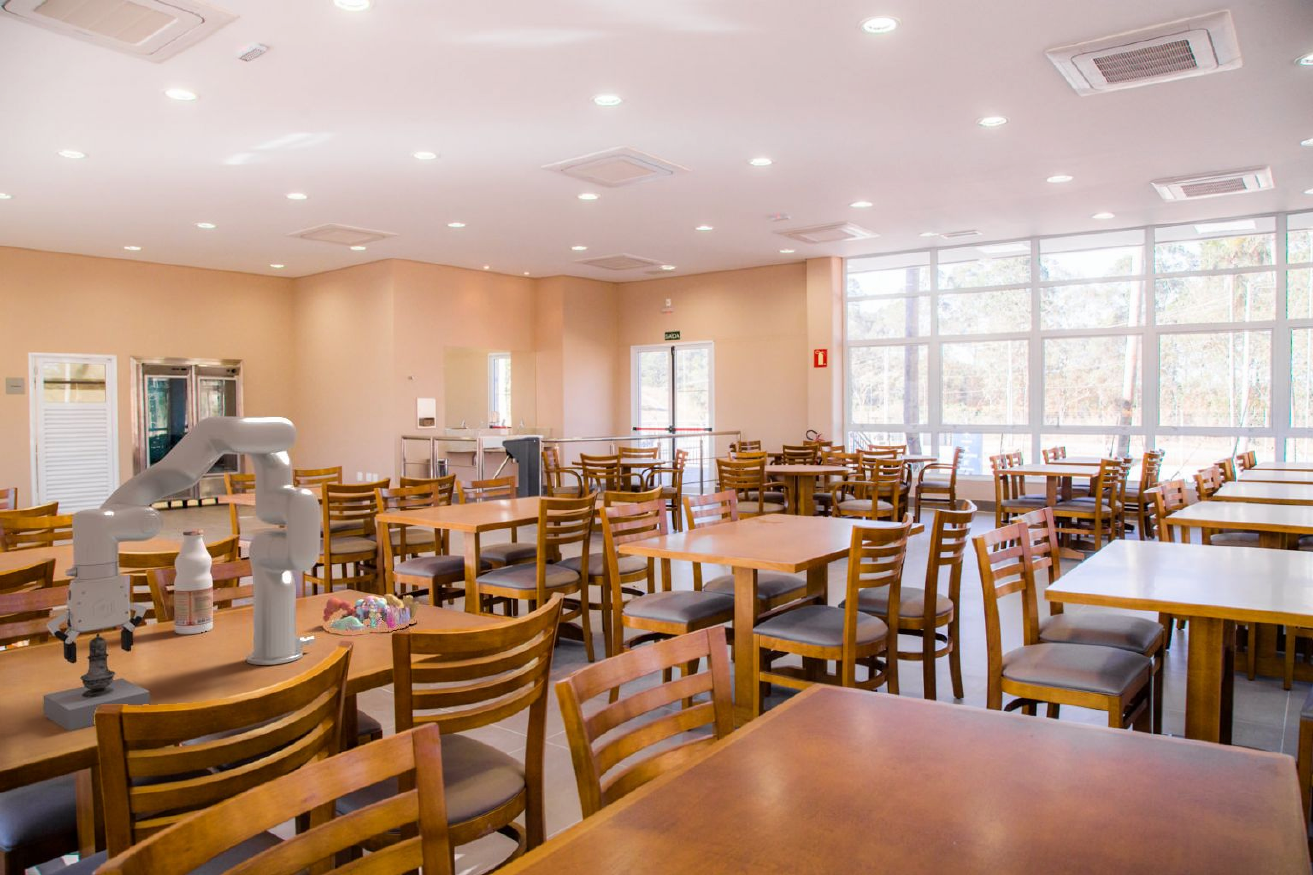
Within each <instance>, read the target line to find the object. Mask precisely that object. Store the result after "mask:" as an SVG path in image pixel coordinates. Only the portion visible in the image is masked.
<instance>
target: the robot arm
mask: <svg viewBox="0 0 1313 875" xmlns="http://www.w3.org/2000/svg"><path fill="white" fill-rule="evenodd" d="M297 438H298V432H297V428H296V426H295V424H294V423H293V422H292V421H291V420H289V419H288V418H286V417H284V416H254V415H253V416H207V417H205V418H201V420H199V421H198V422H197V423H196V424H195V425H193V427H192V428H191V429H190V430H189V431H188V432H187V433H186V434H185V435H184V436H183V437H182V439H180V441H178V442H177V443H176V444H175V446H174V447H173V448H172V449H171V450H170V451H169V452H168V453H167V454H166V455H165V456H163V458H162V459H161V460H160V461H158V462H156V463H154V464H153V465H150V466H149V467H148V468H146V469H144V470H143V471H141V472H139V473H138V474H136V475H135V476H132V477H131V478H130V479H128V480H126V481H125V482H124V483H123V484H121V485H120V486H118V488H117V489H116V490H114V491H113V493H111V495H109V497H108V498H107V499H106V500H105V501H104V502H103V503H102V504H101V505H100V506H99V508H91V509H90V508H89V509H83V510H79V511H76V512H75V513H74V514H73V516H72V521H71V522H72V547H73V550H72V553H73V554H72V555H73V564H72V566H71V568H70V569H66V570H65V576H66V577H72V578H74V579H71V580H70V583H69V587H68V592H67V601H66V611H64V612H62V613H61V614H58V615H57V616H56V617H54V618H53V619H51V620H49V621H48V622H47V623H46V627H47V629H48V630H49V632H50V633H51V634H52V636H53V637H55V638H56V639H58V640H60V641H61V642H63V657H64V659H65V660H66V661H67V662H68V663H71V664H76V663H77V661H78V660H77V659H78V658H77V657H78V656H77V643H76V642H75V641H74V640H75V639H76V638H77V637H78V635H80V633H88V632H94V631H98V630H99V631H100V630H104V629H109V628H110V629H111V628H116V627H121V628H122V630H121V631H120V647H121V648H120V649H121V650H123V651H125V652H132V646H133V645H134V631H135V630H136V627H138V625H139V624H140V623H141V622H142V620H143V617H144V616H145V613H146V612H147V606H144V605H141V604H138V603H134V602H131V601H130V596H129V590H128V585H127V581H126V577H125V575H124V574H120V562H119V561H120V558H119V557H120V555H119V554H120V553H119V551H120V550H119V543H125V542H128V543H129V542H132V543H133V542H146V541H149V540H152V539H154V538H155V537H157V536H158V535H159V534H160V533H161V531H162V529H163V526H164V525H165V524H164V522H165V521H164V516H163V515H162V513H161V512H160V511H159V510H158V509H156V508H155V507H153V506H151V505H152V504H153V503H155V502H157V501H158V500H160V499H162V498H165V497H167V496H170V495H173V494H177V493H180V492H183V491H186V490H187V489H190V488H192V487H194V486H195V485H197V484H198V483H199V482H200V481H201V479H202V478H203V477H204V476H205V475H206V473H208V471H209V470H211V468H212V467H213V466H215V463H217V461H219V459H220V458H221V457H222V456H223V455H246V456H247V457H248V458H249V459H250V461H251V463H252V465H253V472H254V499H255V501H254V505H255V506H254V507H255V509H254V510H255V515H256V518H257V519H258V520H259V521H260V522H261V523H263V524H267V525H272V526H283V527H285V530H280V529H268V530H267V529H266V530H264V531H260V532H259V533H257V534H256V535H255V536H254V537H253V538H252V539H251V541H250V543H249V546H248V547H249V548H248V559H249V563H250V566H251V567H250V568H251V573H252V583H253V584H252V585H253V586H252V587H253V597H252V599H253V600H252V601H253V604H252V605H253V651H252V652H250V653H248V654H247V655H246V662H247V663H248V664H252V665H260V666H269V665H272V666H273V665H281V664H285V663H290V662H294V661H296V660H298V659H301V658H302V656H303V655H304V653H303V649H302V648H303V647H304V646H309V645H314V644H315V642H316V640H315V637H314V636H307V637H304V636H300V637H299V636H297V622H296V621H297V616H296V615H297V613H296V610H297V608H296V607H297V606H296V605H297V601H296V600H297V598H296V596H297V586H296V580H295V577H294V573H293V572H295V573H300V572H301V573H302V572H306V571H309V570H311V569H313V568H314V567H315V565H316V564H317V562H318V561H319V560H318V559H319V557H320V554H321V507H320V502H319V500H318V497H317V495H315V493H314V492H313V491H312V490H310V489H308V488H305V487H300V486H294V476H293V475H294V473H293V472H294V471H293V464H292V460H291V457H290V455H289V453H288V451H289V450H290V449H291V448H293V446H294V444H295V443H296V442H297ZM131 610H133V611H135V614H134V615H133V616H132V617H131V615H132V614H131ZM64 622H66V626H67V629H66V631H65V632H63V631H61V629H60V628H59V626H60V625H61V624H63V623H64Z"/></svg>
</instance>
